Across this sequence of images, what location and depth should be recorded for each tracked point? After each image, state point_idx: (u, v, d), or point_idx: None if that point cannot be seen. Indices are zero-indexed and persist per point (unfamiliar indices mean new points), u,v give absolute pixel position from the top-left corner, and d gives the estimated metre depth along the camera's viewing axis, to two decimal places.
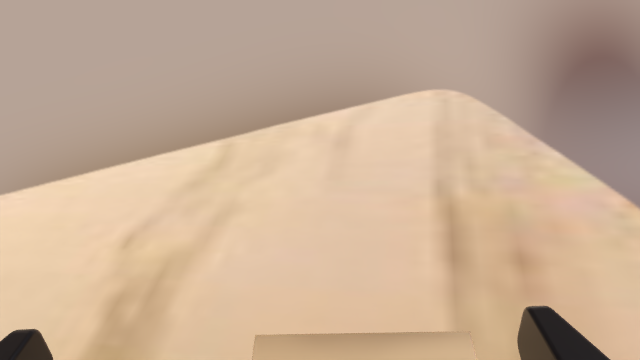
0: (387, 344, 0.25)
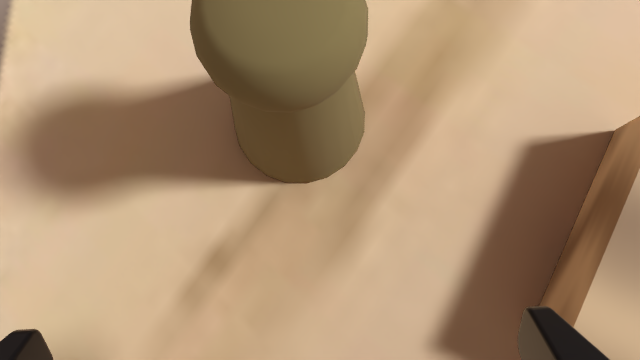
0: None
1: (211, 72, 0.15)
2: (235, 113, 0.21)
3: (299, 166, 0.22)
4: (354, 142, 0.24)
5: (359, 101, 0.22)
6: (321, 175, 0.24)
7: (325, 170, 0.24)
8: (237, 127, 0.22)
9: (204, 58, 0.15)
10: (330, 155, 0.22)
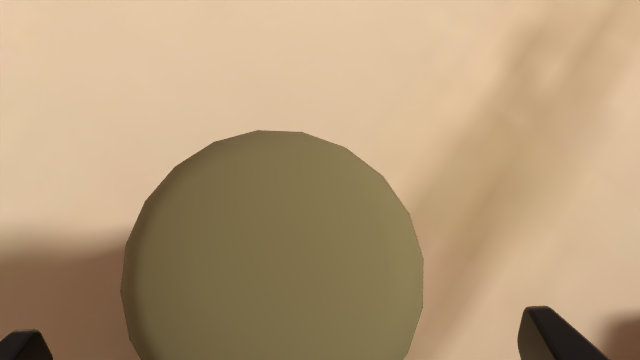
0: None
1: None
2: None
3: None
4: None
5: None
6: None
7: None
8: None
9: None
10: None
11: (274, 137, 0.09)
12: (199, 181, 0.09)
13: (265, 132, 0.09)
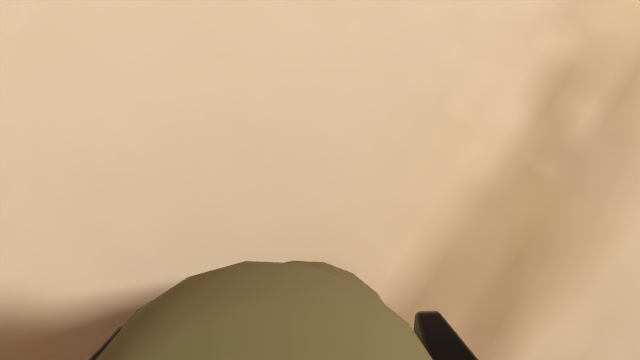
0: None
1: None
2: None
3: None
4: None
5: None
6: None
7: None
8: None
9: None
10: None
11: (262, 288, 0.07)
12: None
13: (250, 275, 0.07)
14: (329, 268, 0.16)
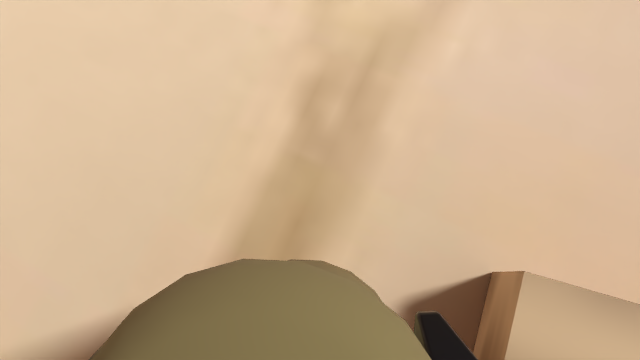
0: None
1: None
2: None
3: None
4: None
5: None
6: None
7: None
8: None
9: None
10: None
11: (259, 285, 0.07)
12: None
13: (247, 272, 0.07)
14: (327, 266, 0.16)
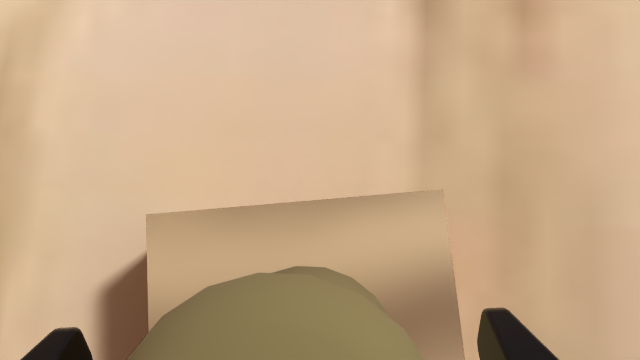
0: (329, 218, 0.18)
1: None
2: None
3: None
4: None
5: None
6: None
7: None
8: None
9: None
10: None
11: (275, 298, 0.07)
12: None
13: (264, 285, 0.08)
14: (330, 273, 0.17)
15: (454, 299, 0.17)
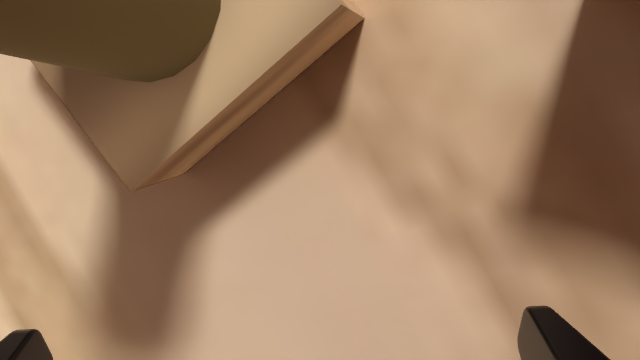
0: None
1: None
2: None
3: (151, 54, 0.16)
4: None
5: None
6: (198, 41, 0.17)
7: (194, 33, 0.17)
8: None
9: None
10: (171, 15, 0.16)
11: None
12: None
13: None
14: None
15: None
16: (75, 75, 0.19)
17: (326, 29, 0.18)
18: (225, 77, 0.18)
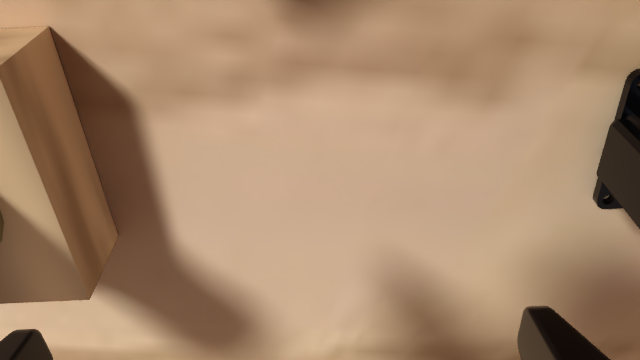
0: None
1: None
2: None
3: None
4: None
5: None
6: None
7: None
8: None
9: None
10: None
11: None
12: None
13: None
14: None
15: None
16: None
17: (24, 82, 0.18)
18: (23, 188, 0.19)
